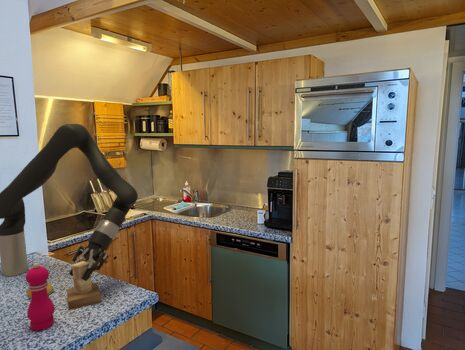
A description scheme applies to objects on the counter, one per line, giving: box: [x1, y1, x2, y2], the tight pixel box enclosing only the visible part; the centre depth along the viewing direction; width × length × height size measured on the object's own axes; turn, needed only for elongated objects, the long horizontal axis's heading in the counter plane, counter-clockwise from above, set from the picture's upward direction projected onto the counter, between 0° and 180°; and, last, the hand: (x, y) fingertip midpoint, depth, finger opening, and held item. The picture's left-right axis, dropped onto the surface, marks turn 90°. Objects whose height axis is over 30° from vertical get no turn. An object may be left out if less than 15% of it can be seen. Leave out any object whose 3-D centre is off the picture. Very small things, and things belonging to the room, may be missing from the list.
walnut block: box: [66, 281, 102, 311], centre depth 116 cm, size 10×10×3 cm
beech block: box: [71, 260, 92, 295], centre depth 115 cm, size 4×4×10 cm
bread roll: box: [26, 281, 54, 300], centre depth 121 cm, size 8×9×4 cm
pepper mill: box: [25, 262, 56, 332], centre depth 100 cm, size 7×7×20 cm
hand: (77, 277), depth 113 cm, fingers open, 6 cm apart
